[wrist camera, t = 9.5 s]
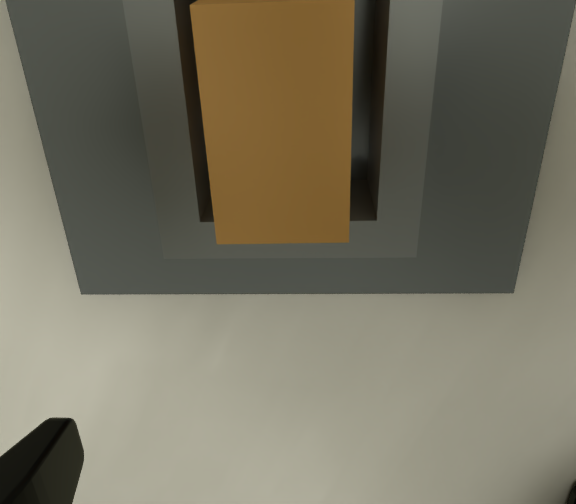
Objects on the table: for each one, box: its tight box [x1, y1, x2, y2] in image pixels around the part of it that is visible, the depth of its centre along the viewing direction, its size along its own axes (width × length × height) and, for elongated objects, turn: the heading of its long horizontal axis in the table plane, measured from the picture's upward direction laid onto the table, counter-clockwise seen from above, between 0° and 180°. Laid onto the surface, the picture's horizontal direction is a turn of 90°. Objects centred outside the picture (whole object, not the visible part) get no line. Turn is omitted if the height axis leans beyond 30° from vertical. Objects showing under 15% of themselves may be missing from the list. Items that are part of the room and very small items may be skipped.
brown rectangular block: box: [190, 0, 355, 244], centre depth 14 cm, size 3×5×6 cm, turn 2°
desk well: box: [6, 0, 576, 294], centre depth 15 cm, size 16×16×4 cm
